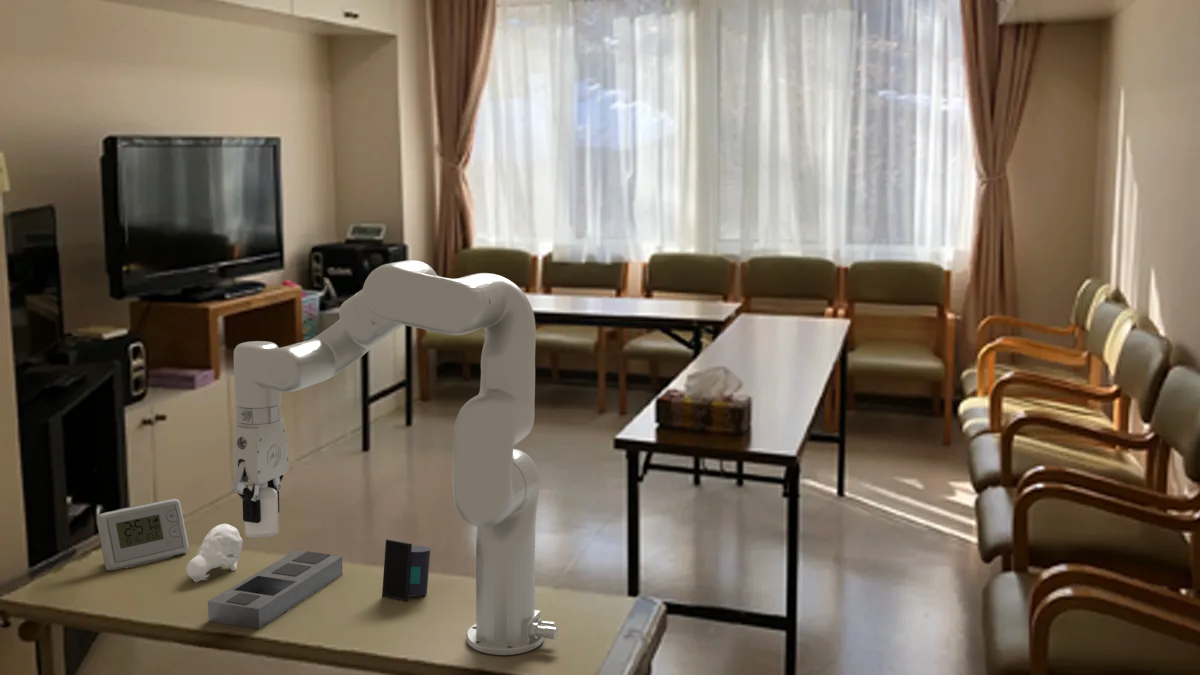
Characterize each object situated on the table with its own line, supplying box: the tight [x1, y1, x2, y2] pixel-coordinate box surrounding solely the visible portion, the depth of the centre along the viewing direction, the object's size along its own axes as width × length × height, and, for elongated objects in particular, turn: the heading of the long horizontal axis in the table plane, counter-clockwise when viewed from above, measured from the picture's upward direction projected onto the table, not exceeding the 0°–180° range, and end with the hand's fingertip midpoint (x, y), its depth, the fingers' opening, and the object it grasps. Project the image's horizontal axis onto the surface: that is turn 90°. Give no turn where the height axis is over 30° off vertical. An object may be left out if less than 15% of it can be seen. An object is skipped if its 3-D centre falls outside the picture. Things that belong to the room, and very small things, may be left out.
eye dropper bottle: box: [243, 482, 279, 539], centre depth 187 cm, size 4×6×12 cm
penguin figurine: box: [185, 523, 244, 583], centre depth 203 cm, size 6×8×12 cm
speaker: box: [381, 539, 431, 602], centre depth 194 cm, size 8×6×10 cm
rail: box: [207, 549, 343, 630], centre depth 193 cm, size 10×26×4 cm, turn 162°
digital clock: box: [96, 498, 190, 571], centre depth 210 cm, size 16×9×11 cm, turn 123°
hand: (261, 516), depth 187 cm, fingers closed on eye dropper bottle, 4 cm apart
